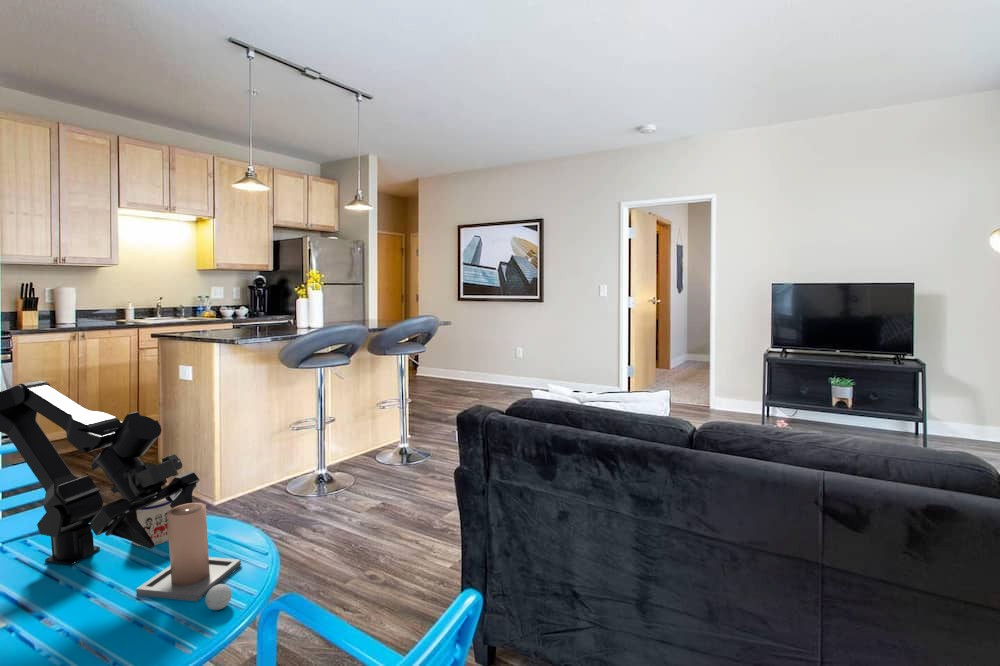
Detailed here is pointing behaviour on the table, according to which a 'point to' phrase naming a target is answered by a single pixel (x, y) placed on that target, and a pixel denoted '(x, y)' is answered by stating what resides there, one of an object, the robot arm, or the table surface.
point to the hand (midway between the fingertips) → (175, 535)
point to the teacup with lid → (155, 520)
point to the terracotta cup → (188, 544)
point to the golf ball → (218, 597)
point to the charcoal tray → (165, 588)
